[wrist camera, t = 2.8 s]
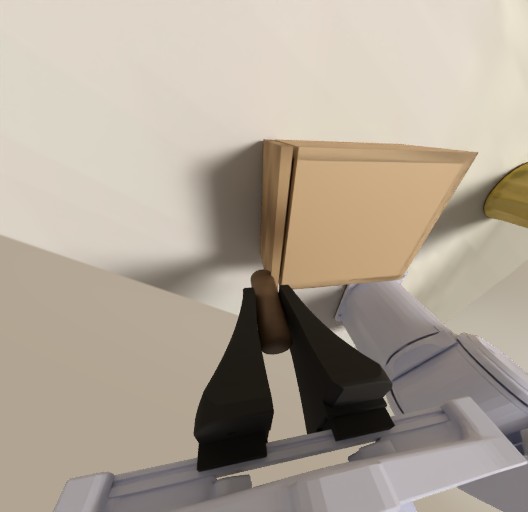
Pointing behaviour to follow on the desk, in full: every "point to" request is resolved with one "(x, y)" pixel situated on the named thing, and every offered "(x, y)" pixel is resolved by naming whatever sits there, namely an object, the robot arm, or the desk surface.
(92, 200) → the desk surface
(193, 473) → the robot arm
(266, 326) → the wooden paddle
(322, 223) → the carton
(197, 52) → the desk surface
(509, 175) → the vase
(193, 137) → the desk surface
